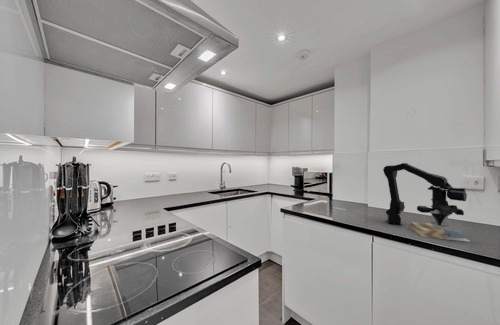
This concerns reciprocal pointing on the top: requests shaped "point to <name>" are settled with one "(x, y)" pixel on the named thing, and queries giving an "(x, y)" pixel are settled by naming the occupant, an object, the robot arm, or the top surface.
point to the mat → (455, 238)
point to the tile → (454, 233)
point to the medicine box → (444, 223)
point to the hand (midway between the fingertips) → (439, 224)
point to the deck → (427, 230)
